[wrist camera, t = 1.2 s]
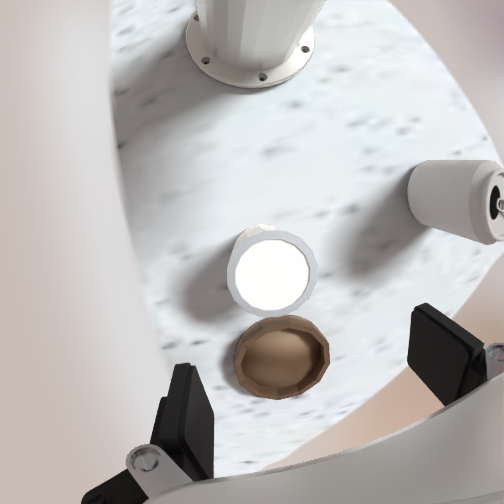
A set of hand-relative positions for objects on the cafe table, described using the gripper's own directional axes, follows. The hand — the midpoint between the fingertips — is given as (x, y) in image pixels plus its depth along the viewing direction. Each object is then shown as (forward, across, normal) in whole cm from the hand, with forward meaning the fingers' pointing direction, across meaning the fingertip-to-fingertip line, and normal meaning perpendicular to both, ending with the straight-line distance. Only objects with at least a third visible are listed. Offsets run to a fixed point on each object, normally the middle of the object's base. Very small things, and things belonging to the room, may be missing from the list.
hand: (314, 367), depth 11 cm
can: (+18, -20, -3) cm, 27 cm away
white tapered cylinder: (+18, 0, 0) cm, 18 cm away
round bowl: (+18, 0, +12) cm, 21 cm away
